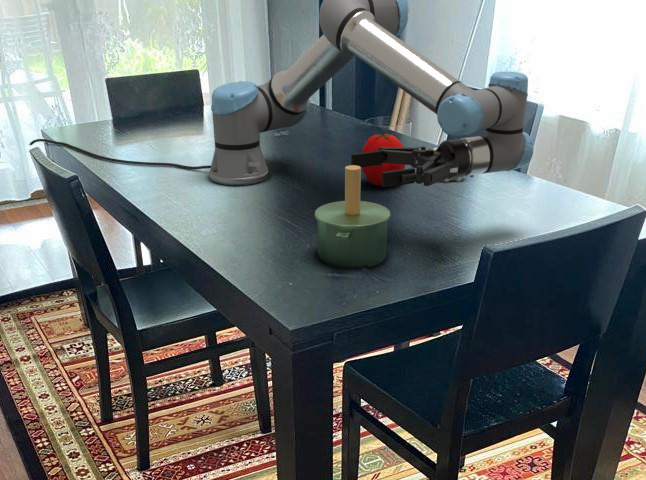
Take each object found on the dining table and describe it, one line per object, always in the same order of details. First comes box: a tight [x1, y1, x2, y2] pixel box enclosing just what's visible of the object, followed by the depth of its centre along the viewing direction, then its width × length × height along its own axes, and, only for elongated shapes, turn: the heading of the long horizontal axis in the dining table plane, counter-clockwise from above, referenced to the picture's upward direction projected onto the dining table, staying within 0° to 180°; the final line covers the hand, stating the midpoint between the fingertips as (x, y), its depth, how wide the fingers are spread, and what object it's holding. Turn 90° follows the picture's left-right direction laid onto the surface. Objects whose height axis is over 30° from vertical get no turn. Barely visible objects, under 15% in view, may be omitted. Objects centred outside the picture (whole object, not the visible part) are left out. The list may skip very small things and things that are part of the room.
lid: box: [314, 164, 391, 229], centre depth 147 cm, size 15×15×10 cm
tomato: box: [361, 131, 406, 187], centre depth 192 cm, size 12×12×13 cm
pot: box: [316, 219, 388, 269], centre depth 152 cm, size 14×19×8 cm
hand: (366, 170), depth 147 cm, fingers open, 13 cm apart
